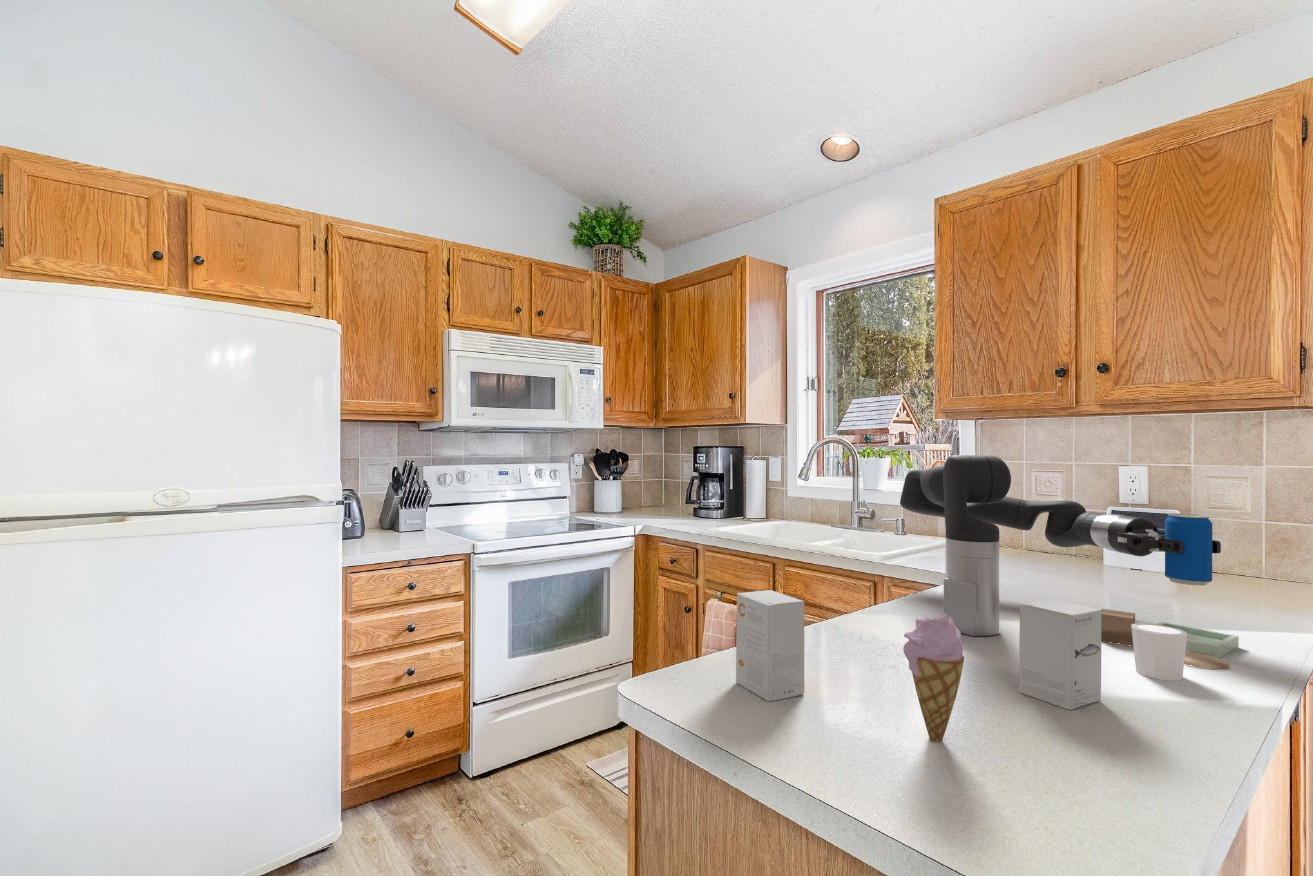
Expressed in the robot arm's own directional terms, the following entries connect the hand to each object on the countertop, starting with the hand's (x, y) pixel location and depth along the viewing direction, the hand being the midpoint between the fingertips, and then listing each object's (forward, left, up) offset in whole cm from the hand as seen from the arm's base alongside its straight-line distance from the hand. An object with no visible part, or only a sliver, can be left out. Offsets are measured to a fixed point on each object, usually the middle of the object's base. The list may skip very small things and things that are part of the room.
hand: (1199, 547), depth 111 cm
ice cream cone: (-72, +5, -18) cm, 74 cm away
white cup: (-22, -1, -18) cm, 28 cm away
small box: (-77, +27, -18) cm, 83 cm away
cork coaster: (-9, -2, -18) cm, 20 cm away
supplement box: (-45, +3, -18) cm, 48 cm away
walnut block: (-7, +10, -18) cm, 21 cm away
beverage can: (+1, +2, -7) cm, 7 cm away
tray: (+1, +2, -18) cm, 18 cm away
